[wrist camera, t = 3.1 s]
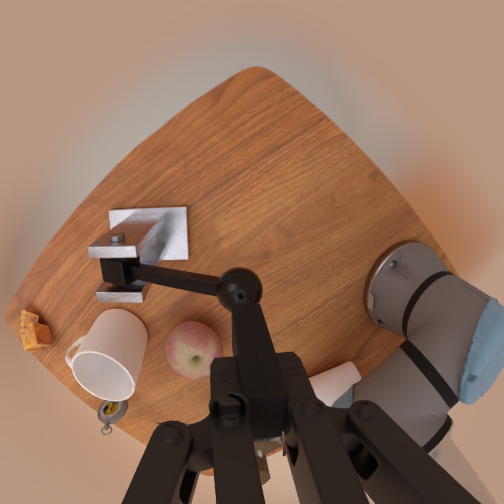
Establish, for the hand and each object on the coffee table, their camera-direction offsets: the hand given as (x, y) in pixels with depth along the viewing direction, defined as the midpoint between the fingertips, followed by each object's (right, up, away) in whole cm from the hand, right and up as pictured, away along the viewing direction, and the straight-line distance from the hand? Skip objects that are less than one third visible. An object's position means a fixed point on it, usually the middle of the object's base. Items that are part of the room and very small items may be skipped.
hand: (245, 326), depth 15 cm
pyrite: (-34, -8, +21) cm, 41 cm away
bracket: (-12, +6, +19) cm, 23 cm away
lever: (-5, +2, +7) cm, 9 cm away
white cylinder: (+9, -23, +27) cm, 37 cm away
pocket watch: (-25, -19, +26) cm, 41 cm away
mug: (-21, -8, +23) cm, 32 cm away
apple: (-8, -8, +24) cm, 27 cm away
